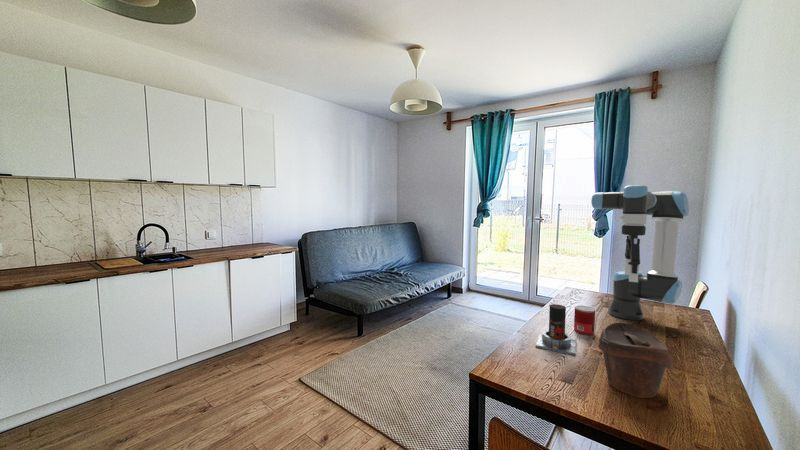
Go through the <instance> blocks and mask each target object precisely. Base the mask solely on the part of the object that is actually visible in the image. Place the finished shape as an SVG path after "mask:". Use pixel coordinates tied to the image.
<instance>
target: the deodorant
mask: <svg viewBox="0 0 800 450" xmlns="http://www.w3.org/2000/svg"><path fill="white" fill-rule="evenodd" d="M566 310H567V308H566V306H564V305H562V304H557V303H556V304H555V303H552V304H549V311H548V313H549V315H548V316H549V317H548V321H549V322H548V330H549V337H551V338H555V339H565V333H566V316H567V315H566V314H567V313H566Z"/></svg>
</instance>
